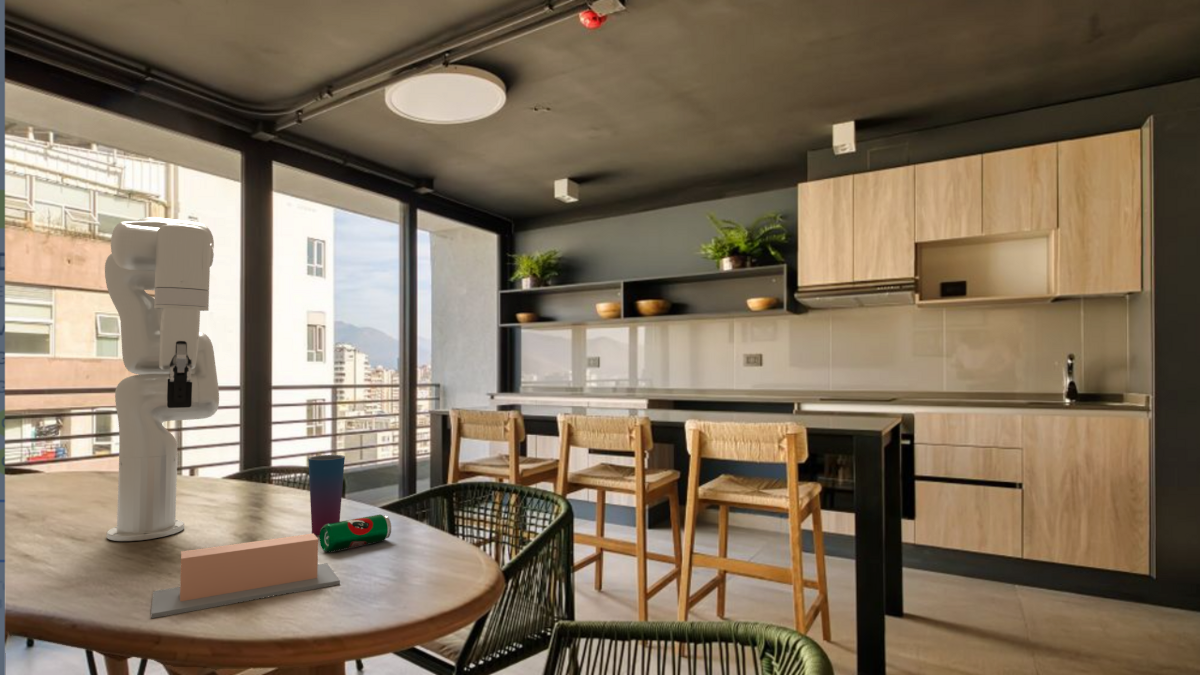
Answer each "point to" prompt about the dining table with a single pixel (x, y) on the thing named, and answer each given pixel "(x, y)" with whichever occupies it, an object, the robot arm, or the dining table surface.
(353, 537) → the soda can
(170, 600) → the mat
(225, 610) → the dining table surface
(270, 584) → the peach wooden plank
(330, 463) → the cup
